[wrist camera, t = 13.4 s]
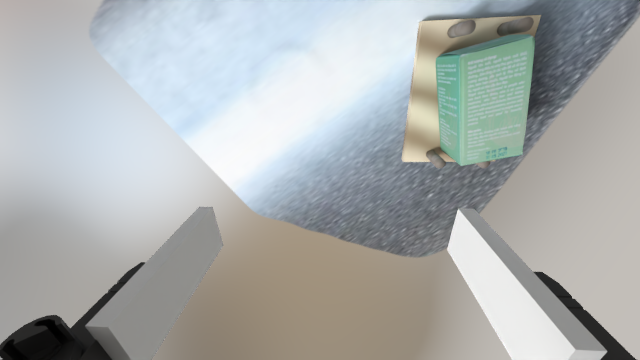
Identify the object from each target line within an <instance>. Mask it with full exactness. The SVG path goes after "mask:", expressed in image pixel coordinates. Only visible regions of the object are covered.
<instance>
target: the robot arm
mask: <svg viewBox="0 0 640 360" xmlns="http://www.w3.org/2000/svg"><path fill="white" fill-rule="evenodd" d="M222 247H223V242H222V239H221V235H220V232H219V228H218V225H217V221H216V218H215V214H214V211H213V207H199V208H198V209H197V210H196V211H195V212H194V213H193V214H192V215H191V216H190V217H189V218H188V219H187V220H186V221H185V222H184V223H183V224H182V226H181V227H180V228H179V229H178V230H177V231H176V232H175V233H174V234H173V235H172V236H171V237H170V238H169V239H168V240H167V241H166V242H165V243H164V244H163V245H162V247H160V248H159V249H158V251H157V252H156V253H155V254H154V255H153V256H152V257H151V258H150V259H149V260H148V261H147V262H146V263H144V262H141V263H140V264H138V265H137V266H135V267H134V268H132V269H131V270H129V271H128V272H127V273H126V274H125V275H124V276H123V277H122V278H121V279H120V280H119V281H118V282H117V284H115V285H114V286H113V287H112V288H111V289H110V290H109V291H108V293H106V294H105V295H104V296H103V297H102V298H101V299H100V300H99V301H98V302H97V303H96V304H95V305H94V306H93V307H92V308H91V309H90V310H89V311H88V312H87V313H86V314H85V315H84V316H83V317H82V318H81V319H79V320H78V321H77V322H76V323H75V325H74V326H72V328H69V327H68V326H67V325H66V323H65V322H64V321H63V320H62V318H60V317H58V316H57V315H51V316H45V317H42V318H39V319H36V320H34V321H32V322H30V323H28V324H26V325H24V326H23V327H21V328H20V329H18V330H17V331H15V332H14V333H12V334H11V335H10V336H9V337H8V338H7V339H6V340H5V341H3V342H2V343H1V345H0V357H1V358H3V359H2V360H152V358H153V357H154V355H155V354H156V352H157V351H158V349H159V347H160V346H161V344H162V343H163V341H164V339H165V338H166V336H167V335H168V333H169V331H170V329H171V328H172V327H173V325H174V323H175V322H176V320H177V319H178V317H179V315H180V314H181V312H182V311H183V309H184V307H185V306H186V304H187V303H188V301H189V299H190V298H191V296H192V294H193V293H194V291H195V290H196V288H197V287H198V285H199V283H200V282H201V280H202V279H203V277H204V275H205V274H206V272H207V270H208V269H209V267H210V266H211V264H212V263H213V261H214V259H215V258H216V256H217V255H218V253H219V251H220V250H221V248H222ZM447 250H448V252H449V254H450V255H451V257H452V258H453V260H454V262H455V264H456V265H457V267H458V269H459V270H460V272H461V274H462V275H463V277H464V279H465V281H466V282H467V284H468V286H469V287H470V289H471V291H472V292H473V294H474V296H475V298H476V299H477V301H478V302H479V304H480V306H481V308H482V309H483V311H484V313H485V315H486V316H487V318H488V319H489V321H490V323H491V325H492V326H493V328H494V330H495V331H496V333H497V335H498V336H499V338H500V340H501V341H502V343H503V345H504V347H505V348H506V350H507V352H508V353H509V355H510V357H511V359H512V360H636V359H635V358H634V357H633V356H632V355H630V353H628V352H627V351H626V350H625V349H624V348H623V347H622V346H621V345H620V344H619V343H618V342H617V341H616V340H615V339H614V338H613V337H612V336H611V335H610V334H609V333H608V332H607V331H606V330H605V329H604V328H603V327H602V326H601V325H600V324H599V323H598V322H597V321H596V320H595V319H594V318H593V317H592V316H591V315H590V314H589V313H588V312H587V311H586V310H584V309H583V307H582V306H581V305H580V304H579V303H578V302H577V301H576V300H575V299H572V296H571V295H570V294H569V293H568V292H567V291H566V290H565V289H564V288H563V287H562V286H561V285H560V284H559V283H558V282H556V281H555V280H553V279H552V278H550V277H549V276H547V275H546V274H544V273H543V272H533V271H532V270H531V269H530V268H529V267H528V266H527V265H526V264H525V263H524V262H523V261H522V260H521V259H520V258H519V256H518V255H517V254H516V253H515V252H514V251H513V250H512V249H511V248H510V247H509V246H508V245H507V244H506V243H505V241H504V240H503V239H502V238H501V237H500V236H499V235H498V234H497V233H496V232H495V231H494V230H493V229H492V228H491V227H490V226H489V224H488V223H487V222H486V221H485V220H484V219H483V218H482V217H481V216H480V215H479V214H478V213H477V212H476V211H475V210H474V209H458V211H457V215H456V219H455V223H454V226H453V230H452V234H451V237H450V241H449V245H448V248H447Z"/></svg>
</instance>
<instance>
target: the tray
mask: <svg viewBox="0 0 640 360" xmlns="http://www.w3.org/2000/svg"><path fill="white" fill-rule="evenodd" d="M540 18H541V15H530V16H511V17H491V18H471V19H452V20H432V21H421V22H419V28H418V36H417V44H416V52H415V59H414V67H413V75H412V83H411V90H410V98H409V106H408V114H407V122H406V129H405V137H404V145H403V153H402V160H403V162H432V163H433V164H434V165H435V166H436V167H437V168H443V167H444V166H445V164H446V162H456V161H455V160H453V159H452V158H451V157H449V156H448V155H447V154H446V153H444V152H443V151H442V150H441V147H440V132H439V114H438V97H437V80H436V58H437V57H439V56H440V55H442V54H444V53H448V52H452V51H455V50H459V49H462V48H466V47H469V46H473V45H476V44H480V43H484V42H487V41H490V40H494V39H497V38H501V37H504V36H508V35H518V34H525V35H526V34H530V35H531V36H533V37H535V34H536V31H537V28H538V24H539V21H540ZM491 161H495V160H491ZM475 164H477V165H478V166H480V167H481V168H486V167H488V166H489V165H490V161H486V162H480V163H475Z"/></svg>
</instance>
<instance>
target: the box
mask: <svg viewBox="0 0 640 360" xmlns="http://www.w3.org/2000/svg"><path fill="white" fill-rule="evenodd" d="M534 48H535V39H534V37H533V36H531V35H530V34H526V35H525V34H518V35H508V36H504V37H501V38H497V39H494V40H490V41H487V42H484V43H480V44H476V45H473V46H469V47H466V48H462V49H459V50H455V51H452V52H448V53H444V54H442V55H440V56H439V57H437V58H436V80H437V97H438V114H439V132H440V147H441V150H442V151H443V152H444V153H446V154H447V155H448V156H449V157H451V158H452V159H453V160H455V161H456V162H457V163H458V164H459V165H461V166H464V165H469V164H475V163H480V162H486V161H491V160H497V159H502V158H508V157H514V156H519V155H522V154H523V143H524V137H525V130H526V121H527V112H528V104H529V95H530V87H531V78H532V68H533V58H534Z"/></svg>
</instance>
